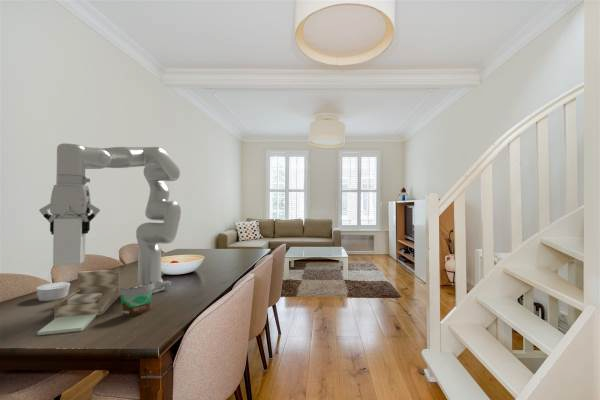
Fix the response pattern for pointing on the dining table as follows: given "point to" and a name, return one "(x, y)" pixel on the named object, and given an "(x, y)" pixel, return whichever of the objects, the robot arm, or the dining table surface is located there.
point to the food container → (136, 299)
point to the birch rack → (88, 285)
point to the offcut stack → (84, 299)
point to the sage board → (67, 324)
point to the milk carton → (68, 240)
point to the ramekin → (52, 291)
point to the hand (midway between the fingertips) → (70, 233)
